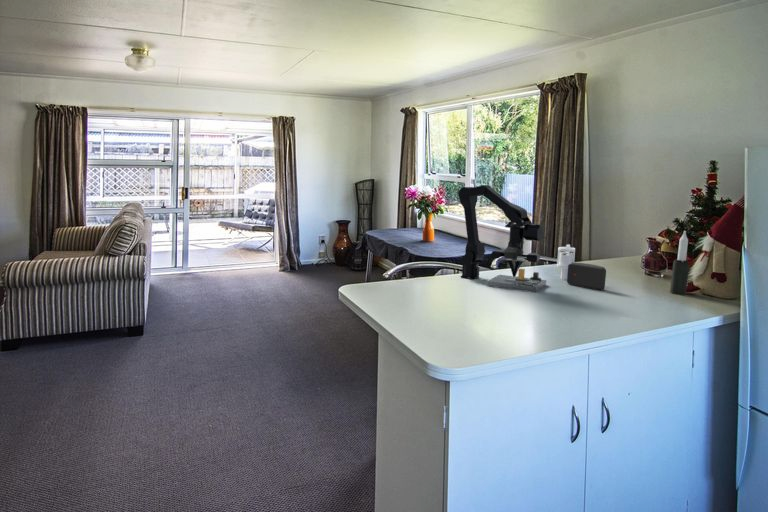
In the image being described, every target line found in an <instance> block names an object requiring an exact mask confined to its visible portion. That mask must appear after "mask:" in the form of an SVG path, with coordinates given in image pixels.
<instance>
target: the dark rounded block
mask: <svg viewBox="0 0 768 512" xmlns="http://www.w3.org/2000/svg"><path fill="white" fill-rule="evenodd" d="M606 277H607V269H606V268H605V267H603V266H601V265H597V264H592V263H591V264H590V263H584V262H575V261H574V262H573V261H572V263H569V264H568V272H567V280H566V283H567V284H568V285H571V286H575V287H581V288H587V289H592V290H596V291H604V290H605V289H606V288H605V287H606V279H607V278H606Z"/></svg>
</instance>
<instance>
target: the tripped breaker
mask: <svg viewBox="0 0 768 512" xmlns="http://www.w3.org/2000/svg"><path fill="white" fill-rule="evenodd" d="M525 272H526V271H525V268H519V270H518V273H517V274H518V276H517V277H518V278H516V279H515V280H517V281H525V282H526V281H527V279H525V278H526V277H525Z"/></svg>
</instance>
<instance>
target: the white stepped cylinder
mask: <svg viewBox="0 0 768 512" xmlns="http://www.w3.org/2000/svg"><path fill="white" fill-rule="evenodd" d="M575 257H576V247H571V244H566V245H565V246H559V247H558V248H557V260H556V267H557V268H560V269H561V270H560V280H563V281H567V272H568V264H569V263H572V262H574V263H575Z"/></svg>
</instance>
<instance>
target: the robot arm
mask: <svg viewBox="0 0 768 512" xmlns="http://www.w3.org/2000/svg"><path fill="white" fill-rule="evenodd" d="M457 195H458V199H459V202H460V205H461V206H462V207H463V212H464V218H465V219H464V220H465V221H464V222H465V230H466V237H467V242H466V245H465V252H464V255H463V256H462V257H461V258H460V259H459V261H460V264H461V266H462V269H461V275H460V278H464V279H471V280H475V279H478V278H479V277H480V267H479V264H480V263H481V261H482V259H484V257H485V254H486V252H487V251H486V250H485V243H484V242H482V243H481V240H480V237H479V227H478V221H477V220H478V219H477V212H476V206H477V202H478V197H481V196H483V197H485V198H486V199H487V200H488V201H490V202H491V203H492V204H494V205H495V206H496V207H498V208H499V209H500V210H501V211H502V212H503V214H504V215H505V217H506V218H507V219H508V220H509V221H508V223H507V224H506V225H505V226H504V227H505V228H509V239H508V244H507V247H506V248H505V249H503V250H502V249H495V250H492V252H491V259H499V258H501V257H502V258H504V262H506V263H508V265H509V267H510V271H511V274H512V275H511V276H513V277H517V274H518V273H519V269H521V268H520V267H521V265H522V264H523V263H525V262H526V261H527V262H528V263H538V262H539V261H541V255H540V254H539V253H536V252H529V253H528V254H524V244H525V241H524V240H526V241H531V242H541V241H543V238H544V233H545V232H544V229H543V228H542V226H543V225H542V224H541V223H537V224H533V223H532V221H531V220H530V218H529V216H528V211H527V210H526V209H525V208H524V207H522V206H519V205H517V204H515V203H512V202H510V201H509V200H508V199H506V198H505V197H504V196H502V195H501V194H500V193H499V192H497V191H496V190H495V189H493V188H492V187H491V186H490V185H489V184H482V185H479V186H464V187H463V186H462V187H461V188H459V190H458V192H457Z"/></svg>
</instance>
